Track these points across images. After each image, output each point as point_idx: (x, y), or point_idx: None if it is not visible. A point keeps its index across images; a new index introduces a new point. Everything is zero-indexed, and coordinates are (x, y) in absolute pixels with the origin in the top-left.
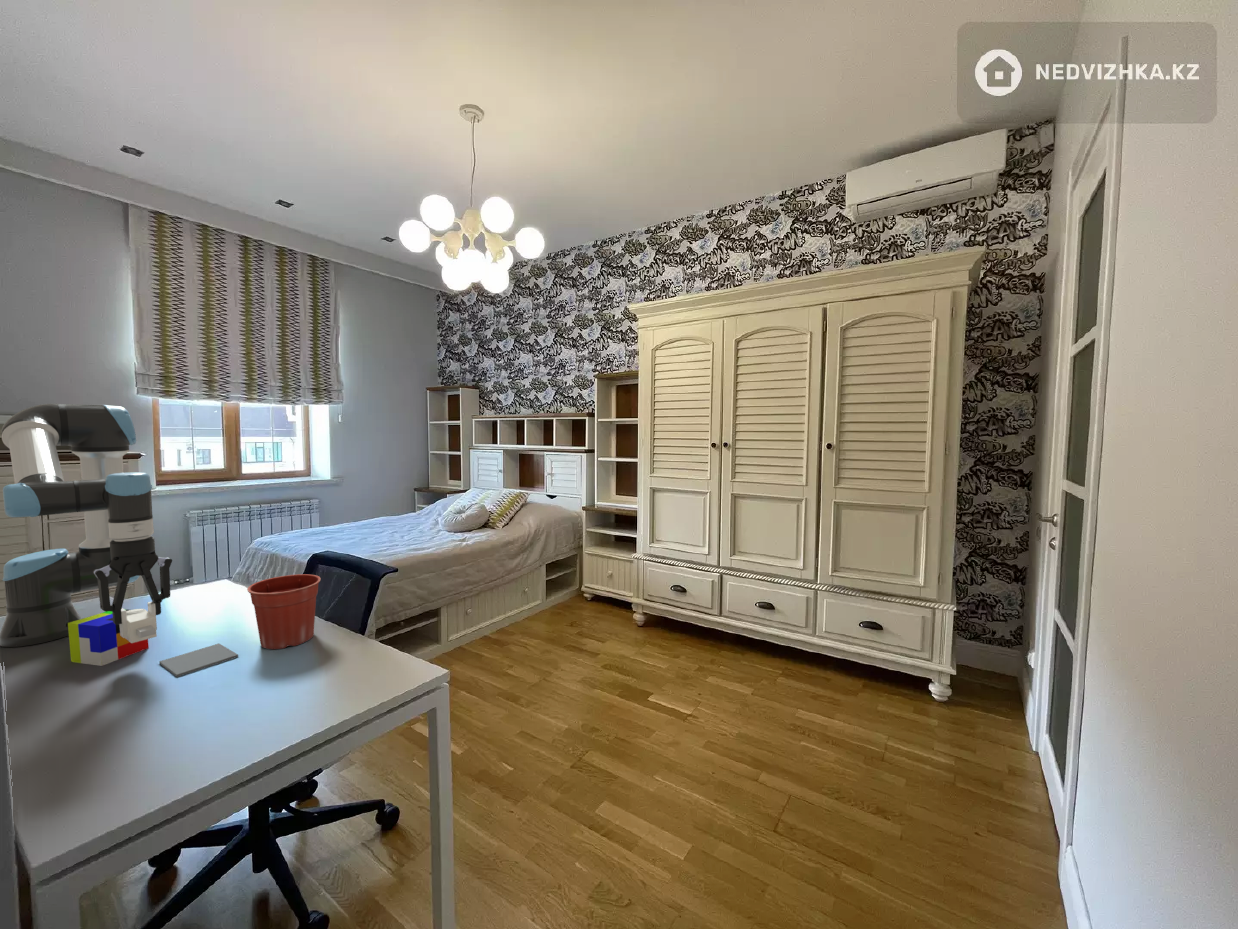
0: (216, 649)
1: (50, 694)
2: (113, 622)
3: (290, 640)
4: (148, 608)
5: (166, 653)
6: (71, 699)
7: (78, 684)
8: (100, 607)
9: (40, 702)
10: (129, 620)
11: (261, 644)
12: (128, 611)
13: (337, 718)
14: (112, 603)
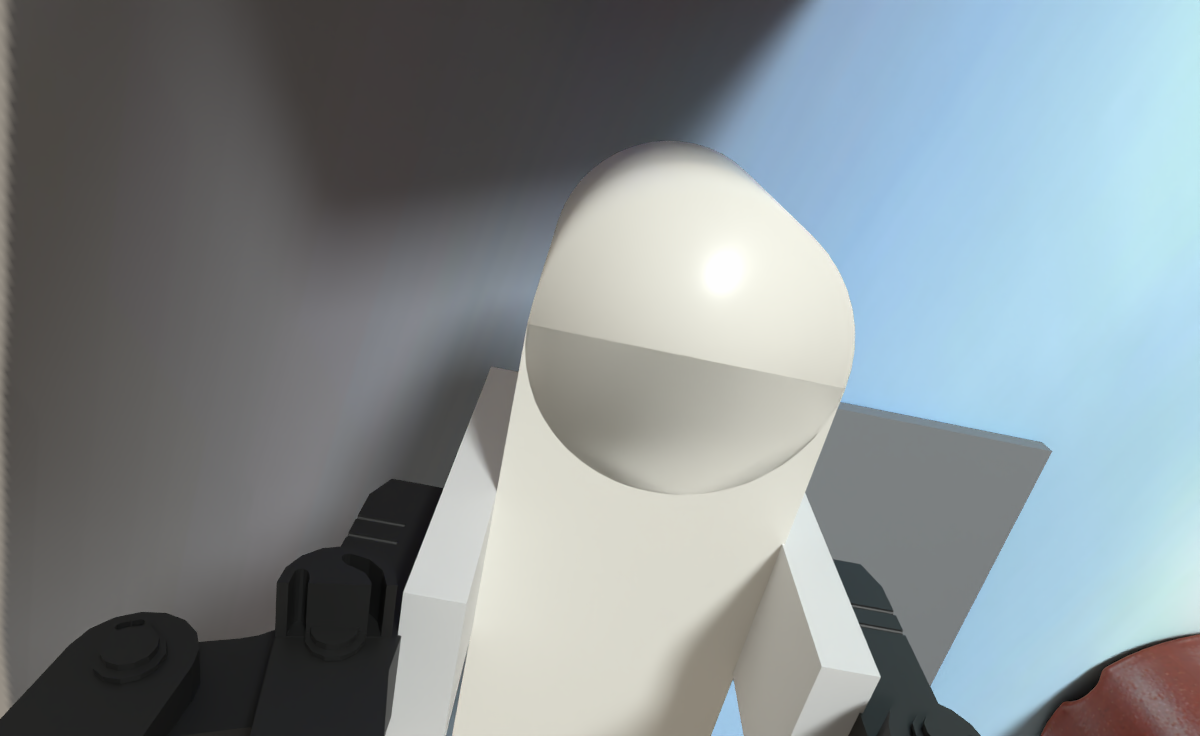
0: (953, 537)
1: (154, 210)
2: (375, 491)
3: None
4: (784, 616)
5: (841, 213)
6: (219, 417)
7: (298, 209)
8: (66, 659)
9: (98, 289)
10: (479, 672)
11: (1062, 726)
12: (681, 256)
13: None
14: (255, 714)
